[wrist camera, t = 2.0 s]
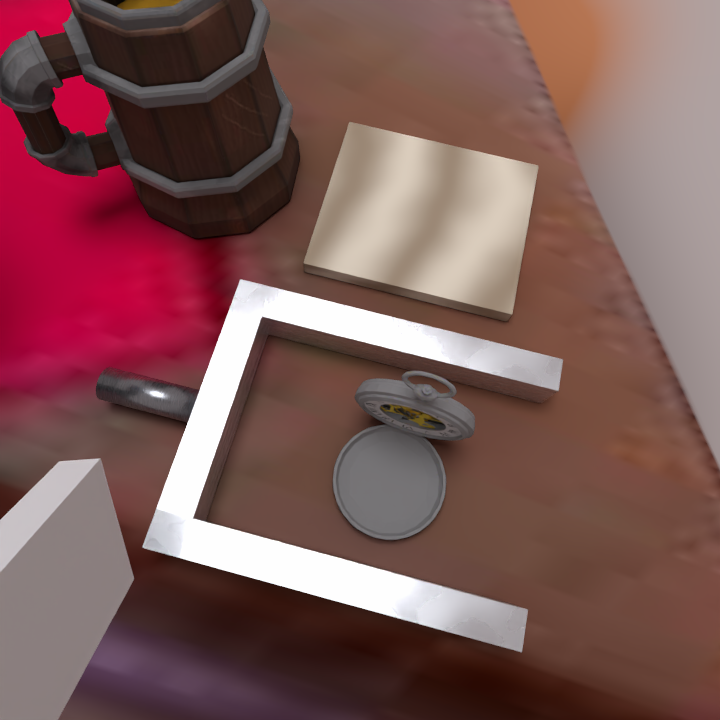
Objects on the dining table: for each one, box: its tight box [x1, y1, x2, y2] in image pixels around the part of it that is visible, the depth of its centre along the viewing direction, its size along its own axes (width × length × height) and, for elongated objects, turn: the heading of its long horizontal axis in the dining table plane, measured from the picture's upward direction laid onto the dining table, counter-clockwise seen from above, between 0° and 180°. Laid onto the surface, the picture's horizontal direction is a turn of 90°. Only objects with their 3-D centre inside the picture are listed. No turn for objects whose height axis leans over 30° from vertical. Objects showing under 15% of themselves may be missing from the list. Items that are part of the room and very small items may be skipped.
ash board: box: [303, 122, 538, 322], centre depth 38 cm, size 14×12×1 cm
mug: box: [0, 0, 300, 238], centre depth 32 cm, size 16×12×15 cm
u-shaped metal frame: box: [96, 279, 563, 652], centre depth 32 cm, size 26×16×3 cm, turn 76°
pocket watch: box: [333, 371, 475, 540], centre depth 28 cm, size 8×8×10 cm
